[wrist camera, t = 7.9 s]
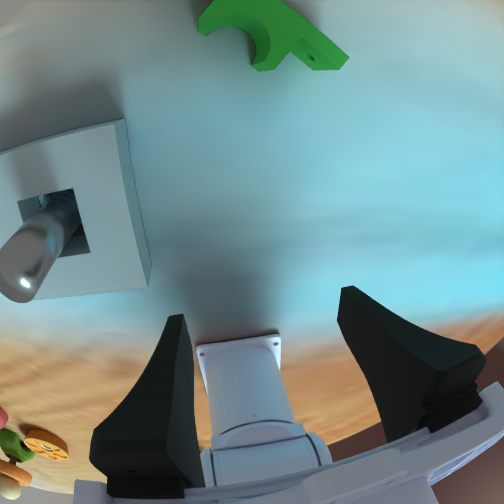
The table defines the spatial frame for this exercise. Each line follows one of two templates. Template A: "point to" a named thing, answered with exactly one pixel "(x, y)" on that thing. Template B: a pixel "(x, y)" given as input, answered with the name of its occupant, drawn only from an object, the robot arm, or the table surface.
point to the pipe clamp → (274, 33)
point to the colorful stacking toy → (24, 455)
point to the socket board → (81, 207)
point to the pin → (37, 246)
